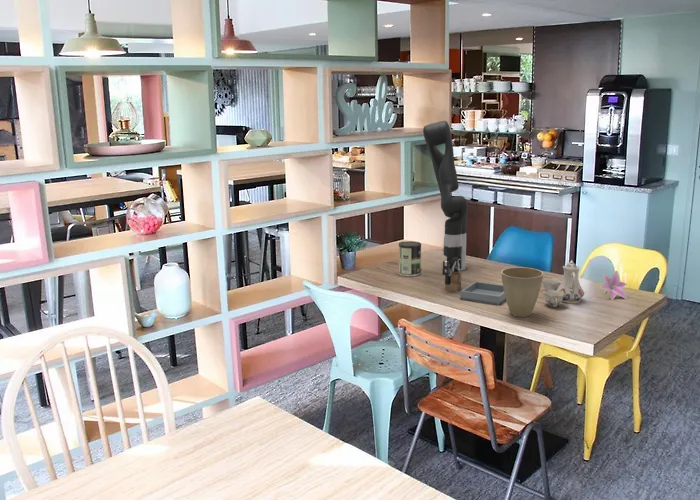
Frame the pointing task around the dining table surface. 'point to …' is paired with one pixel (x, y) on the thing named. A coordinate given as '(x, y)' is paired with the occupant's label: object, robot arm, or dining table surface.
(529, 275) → the plant pot
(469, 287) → the grey tray
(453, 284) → the walnut block
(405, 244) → the coffee can
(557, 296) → the chinaware
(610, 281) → the lily
